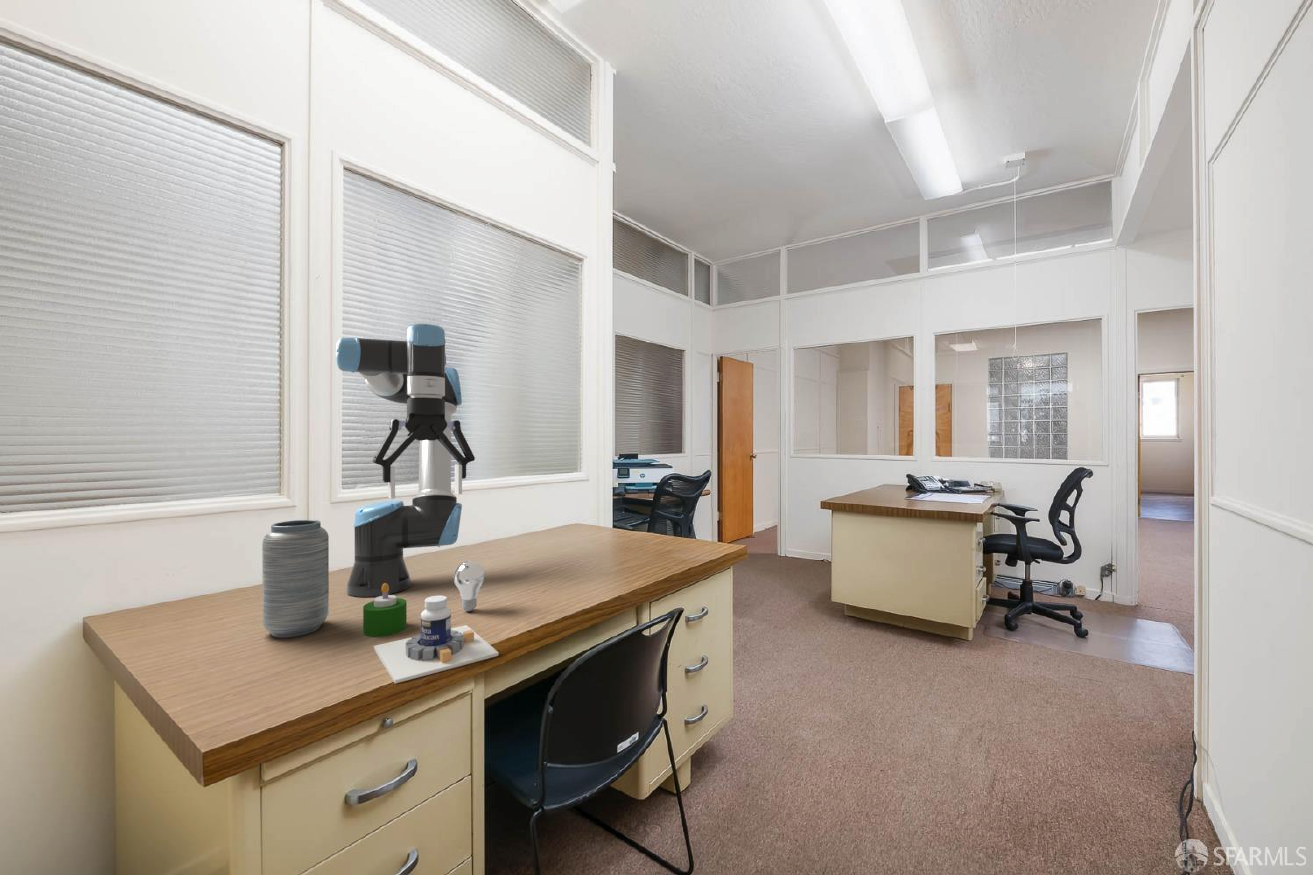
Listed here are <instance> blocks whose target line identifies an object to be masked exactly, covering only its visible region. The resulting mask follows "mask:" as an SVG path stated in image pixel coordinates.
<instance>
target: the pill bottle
mask: <svg viewBox="0 0 1313 875" xmlns="http://www.w3.org/2000/svg"><path fill="white" fill-rule="evenodd" d="M447 605H448V597H447V596H446V595H432V596H427V597H426V598H425V599H424V608H425V609H424V610H422V612H421V613H420V635H421V646H426V647H428V646H438V645H442V644H445V643H447V642H449V641H451V628H452V626H451V625H452V613H451V609H450V608H449V607H448V606H447Z"/></svg>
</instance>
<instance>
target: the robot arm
mask: <svg viewBox="0 0 1313 875" xmlns="http://www.w3.org/2000/svg"><path fill="white" fill-rule="evenodd" d="M406 333H407V334H406V340H396V339H395V340H393V339H392V340H391V339H389V340H388V339H376V338H362V337H357V336H355V337H341V338H339V339H338V341H337V342H336V346H335V348H336V349H335V357H336V358H335V359H336V365H337V368H338V369H339V370H340V371H342V372H351V373H359V374H360V375H361V376H362V377H363V378H364V380H365V384H366V386H367V388H368V389H369V390H370V392H371V393H373V394H374V395H375V396H377V397H379V398H381V399H384V400H387V401H390V402H394V403H397V404H404V405H406V419H405V420H399V419H397V418H394V419H392V418H391V420H390V422H389V429H388V431H387V433H386V435H385V437H384V438H383V440H382V442H381V444H380V446H379V447H378V450H377V451H376V452H375V455H374V457H373V458H372V462H373V463H374V464H375V465H380V466H381V468H382V481H383V483H387V490H388V491H387V495H388V496H387V498H388V499H390V500H388V501H381V502H376V503H371V504H366V505H364V506H360V507H359V508H358V509H357V510H356V511H355V514H354V523H353V528H354V562H353V566H352V569H351V572H350V575H349V578H348V581H347V583H346V593H347V595H349V596H352V597H360V598H363V597H364V598H365V597H366V598H368V597H370V598H371V597H379V596H382V590H381V589H382V585H383V584H384V583H387V584H388V586H389V591H388V595H393V594H395V593H399V592H402V591H404V590H407V589H408V588H409V587H410V586H411V576H410V573H409V570H408V567H407V565H406V563H405V559H404V549H417V548H427V547H428V548H429V547H438V548H440V547H442V546H443V547H444V546H451V545H454V544H455V543H456V542H457V540H458V538H459V530H460V524H461V515H462V508H463V504H462V503H460V502H457V501H458V500H457V498H458V497H457V496H456V495H455V494H457V495H463V480H464V479H466V478H467V465H468V464H469V463H471V462H474V461H475V460H476V457H475V455H474V453H473V451H472V449H471V447H470V446H469V443H468V441H467V439H466V437H465V435H464V433H463V432H462V430H461V429H462V427H461V421H460V420H459V419H454V420H452V415H453V414H455V413H456V412H457V410H458V409H457V408H458V407H457V406H461V405H462V402H463V401H462V390H461V389H462V388H461V383H460V377H459V373H458V370H457V368H455V367H452V366H451V367H450V366H446V365H447V357H446V332H445V329H444V328H443V327H441V326H439V325H436V324H428V323H415V324H411V325H409V326H408V327H407V332H406ZM403 427H405V429H406V430H407V431H408V433H407V434H406V435H404V438H403V439H402V440H401V441H400V442H399V443H398V445H397V446H396V447H395V448H394V449H393V450H392V452H390V453H389V455H388V456H387V457H386V454H387V452H388V451H389V449H390V446H391V445H392V444H393V441H394V440H395V438H396V436H397V434H398V431H401V430H402V428H403ZM452 434H453V436H454V439H455V440H456V441H457V442H456V443H458V446H459V448H460V450H461V452H462V453H463V454H462V453H461V452H460V451H459V450H458V449H457V448H456V446H455V445H454V443H452ZM415 440H416V441H419V449H418V450H419V451H418V453H419V455H418V493H417V494H416V495H414V497H412V504H411V505H405V504H404V501H403V500H398V499H397V500H395V499H396V466H393V464H394V463H395V461H396V460H397V459H399V457H400V456H401V455H402V454H403V453H404V451H405V450H406V449H407V448H408V447H409V446H410V445H411V444H412V443H413V442H414V441H415ZM452 457H453V458H454V460H456V462H457V463H456V464H454V494H453V492H452ZM384 458H385V459H384Z"/></svg>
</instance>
